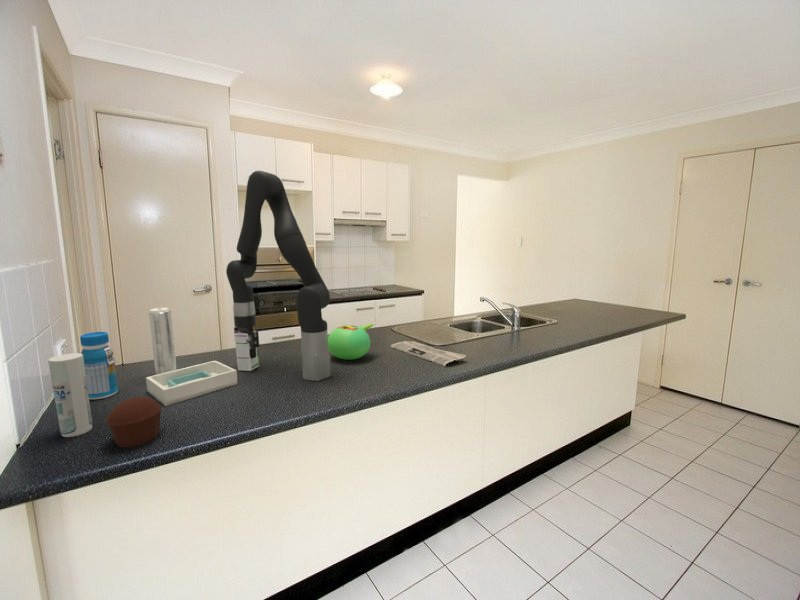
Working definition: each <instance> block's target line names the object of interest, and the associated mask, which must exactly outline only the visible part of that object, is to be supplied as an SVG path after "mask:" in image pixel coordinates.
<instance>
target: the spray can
mask: <svg viewBox="0 0 800 600" xmlns="http://www.w3.org/2000/svg"><path fill="white" fill-rule="evenodd" d="M47 362H48V367H49V373H50V379H51V385H52V390H53V391H52V392H53V396H54V403H55V407H56V415H57V419H58V425H59V426H58V427H59V430H60V431H59V432H60V435H61V436H62V437H64V438H71V437H77V436H80V435H84V434H86V433H88V432H89V431H92V429H93V419H92V412H91V406H90V404H91V403H90V399H89V396H88V389H87V381H86V374H85V367H84V359H83V355H82V354H81V352H80V353H79V352H77V353H76V352H73V353H72V352H71V353H65V354H60V355H56V356H52V357H50V358H48V361H47Z"/></svg>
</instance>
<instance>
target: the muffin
mask: <svg viewBox="0 0 800 600" xmlns="http://www.w3.org/2000/svg"><path fill="white" fill-rule="evenodd" d="M162 409H163V407H162V405H161V404H160V403H158V402H157V401H156V400H155V399H154V398H152V397H146V396H135V397H131V398H128V399H124V400H123V401H121V402H120V403H118V404H116V405H115V406H114V407H113V408H112V410H111V411H110V412H109V413H108V415H107V417H106V418H105V420H104V421H105V424H107V425H108V426H109V429H110V432H111V435H112V437H113V440H114V443H115V445H117V446H118V447H119V448H132V447H133V448H134V447H137V446H141V445H145V444H147V443H148V442H150V441H153V440H154V439H156V437H157V436H158V434H159V433H160V426H161V425H160V424H161V412H162ZM156 435H157V436H156Z"/></svg>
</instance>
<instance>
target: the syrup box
mask: <svg viewBox="0 0 800 600" xmlns="http://www.w3.org/2000/svg"><path fill="white" fill-rule="evenodd" d="M253 331H254V332H255V331H257V330H256V329H253ZM250 336H251V335H250ZM246 339H247V340H248V341H249V340H251V337H249V336H248V334H247V333H242V332H238V333H235V335H234V342H235V344H234V345H235V353H236V361H237V362H236V363H237V371H243V372H245V371H247V372H252V371H253V370H255V369H256V368H258V367H260V365H261V364H260V355H259V347H256V357H255V358H250V353H249V344H248V343H246ZM255 343H256V341H255ZM250 344H251V343H250Z"/></svg>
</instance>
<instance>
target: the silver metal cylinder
mask: <svg viewBox="0 0 800 600" xmlns="http://www.w3.org/2000/svg"><path fill="white" fill-rule="evenodd" d="M148 319H149V327H150V337H151V346H152V352H153V353H152V354H153V360H154V373H155V375H158V374H162V373H166V372H170V371H174V370H178V369H177V361H176V351H175V342H174V341H175V339H174V330H173V321H172V313H171V310H170V308H169V307H157V308H155V307H154V308H152V309H149V312H148Z"/></svg>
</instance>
